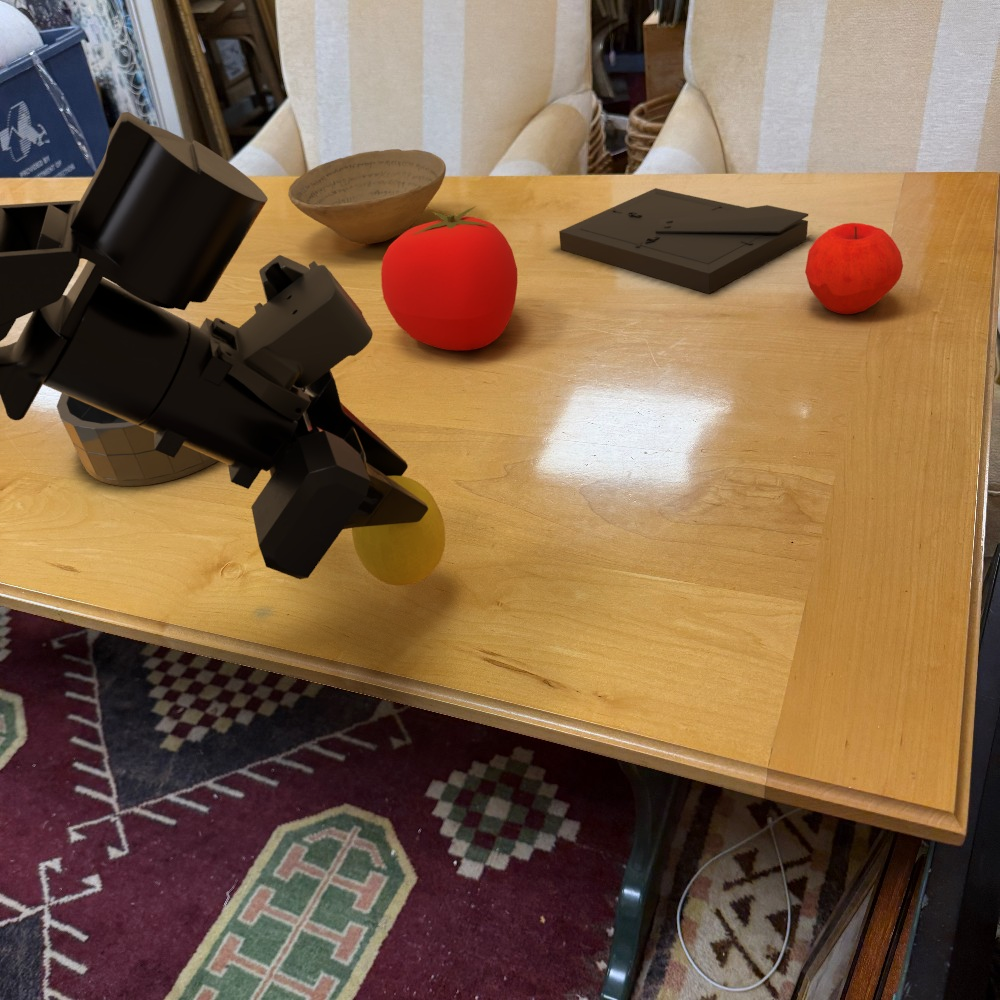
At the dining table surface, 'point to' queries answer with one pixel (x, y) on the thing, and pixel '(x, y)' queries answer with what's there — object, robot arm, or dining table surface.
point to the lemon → (403, 543)
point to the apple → (853, 267)
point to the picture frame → (686, 238)
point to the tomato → (451, 282)
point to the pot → (122, 448)
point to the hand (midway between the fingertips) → (413, 491)
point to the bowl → (370, 192)
